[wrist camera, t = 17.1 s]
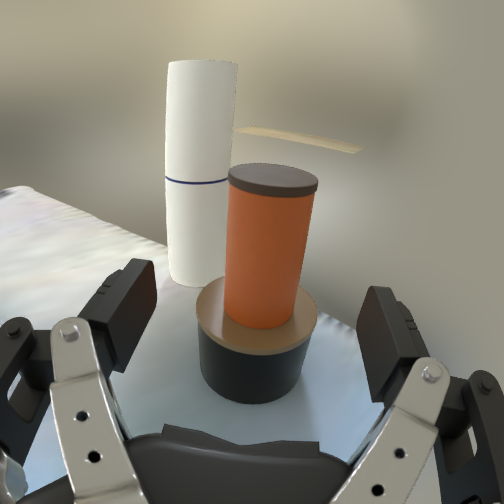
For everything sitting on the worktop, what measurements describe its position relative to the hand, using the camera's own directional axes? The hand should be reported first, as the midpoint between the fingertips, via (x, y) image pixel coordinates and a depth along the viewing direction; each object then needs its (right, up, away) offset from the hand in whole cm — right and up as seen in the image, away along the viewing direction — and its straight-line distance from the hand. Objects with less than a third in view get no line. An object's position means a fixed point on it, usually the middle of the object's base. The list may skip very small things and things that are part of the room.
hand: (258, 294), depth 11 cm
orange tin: (0, -3, +12) cm, 12 cm away
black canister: (0, -9, +15) cm, 17 cm away
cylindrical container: (-7, -1, +28) cm, 29 cm away
